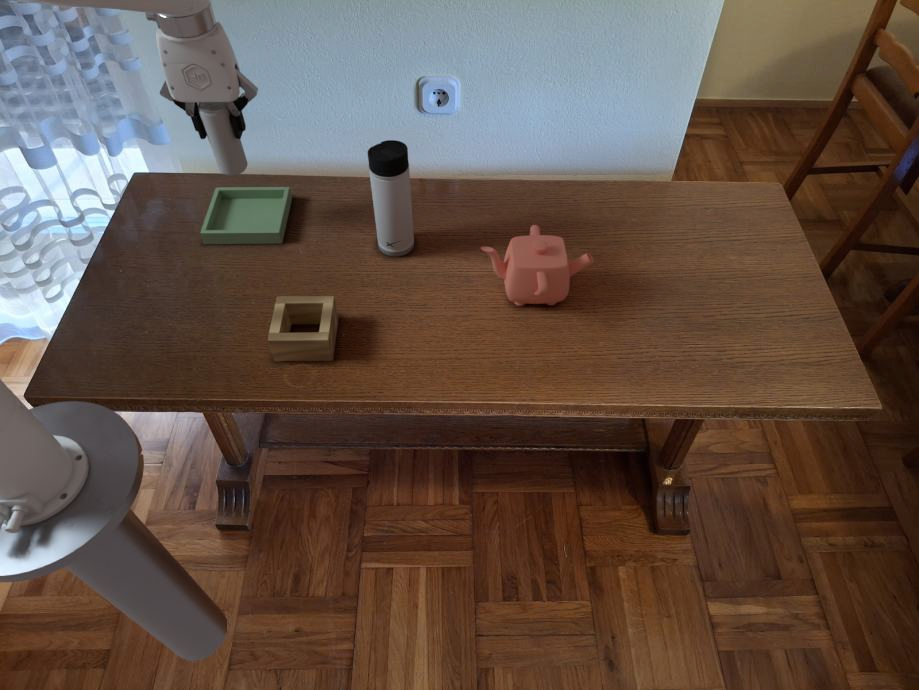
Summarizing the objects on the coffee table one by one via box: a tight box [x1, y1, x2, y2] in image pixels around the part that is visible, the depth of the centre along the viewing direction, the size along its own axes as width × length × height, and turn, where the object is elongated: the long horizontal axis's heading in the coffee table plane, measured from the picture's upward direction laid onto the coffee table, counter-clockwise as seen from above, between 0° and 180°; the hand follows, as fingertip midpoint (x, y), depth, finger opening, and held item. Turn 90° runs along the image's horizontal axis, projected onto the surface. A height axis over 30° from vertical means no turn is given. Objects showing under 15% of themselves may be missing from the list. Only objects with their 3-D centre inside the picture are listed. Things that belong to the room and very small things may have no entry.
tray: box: [200, 186, 293, 245], centre depth 118 cm, size 13×14×3 cm
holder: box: [267, 295, 339, 362], centre depth 99 cm, size 9×9×5 cm
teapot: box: [480, 224, 595, 306], centre depth 104 cm, size 14×12×10 cm
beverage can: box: [198, 102, 248, 177], centre depth 105 cm, size 5×5×12 cm
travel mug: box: [367, 139, 415, 257], centre depth 107 cm, size 6×7×20 cm
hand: (222, 133), depth 104 cm, fingers closed on beverage can, 4 cm apart
